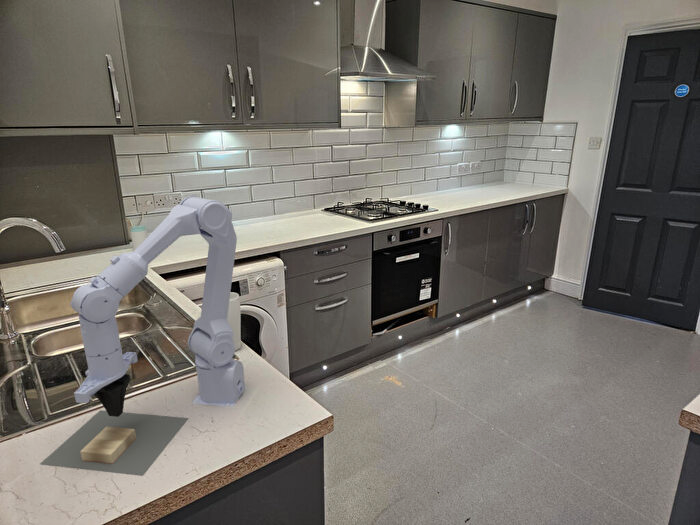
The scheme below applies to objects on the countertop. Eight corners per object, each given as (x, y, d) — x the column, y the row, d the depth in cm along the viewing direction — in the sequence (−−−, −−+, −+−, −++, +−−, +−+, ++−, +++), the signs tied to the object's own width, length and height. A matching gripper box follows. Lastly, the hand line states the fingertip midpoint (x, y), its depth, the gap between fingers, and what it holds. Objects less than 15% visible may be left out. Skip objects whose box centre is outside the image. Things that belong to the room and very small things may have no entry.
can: (152, 249, 223) (149, 225, 219) (142, 253, 216) (138, 228, 213) (140, 248, 225) (137, 224, 221) (130, 252, 218) (126, 227, 215)
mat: (189, 420, 93) (188, 418, 93) (143, 478, 78) (142, 475, 78) (100, 412, 96) (100, 410, 96) (40, 466, 81) (39, 464, 81)
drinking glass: (246, 342, 126) (242, 291, 122) (240, 354, 120) (235, 301, 115) (222, 342, 126) (217, 291, 122) (214, 354, 120) (208, 301, 115)
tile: (134, 429, 87) (110, 454, 80) (136, 438, 87) (112, 463, 81) (106, 426, 87) (80, 451, 81) (108, 435, 88) (82, 460, 81)
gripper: (109, 330, 89) (120, 391, 93) (52, 368, 75) (68, 437, 79) (142, 332, 88) (152, 393, 92) (90, 371, 74) (104, 441, 78)
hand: (115, 414), depth 86 cm, fingers closed
